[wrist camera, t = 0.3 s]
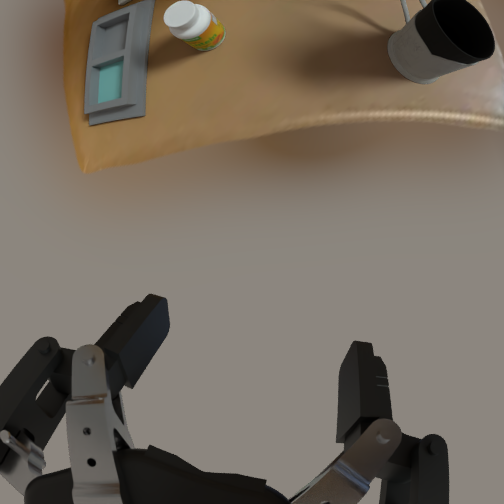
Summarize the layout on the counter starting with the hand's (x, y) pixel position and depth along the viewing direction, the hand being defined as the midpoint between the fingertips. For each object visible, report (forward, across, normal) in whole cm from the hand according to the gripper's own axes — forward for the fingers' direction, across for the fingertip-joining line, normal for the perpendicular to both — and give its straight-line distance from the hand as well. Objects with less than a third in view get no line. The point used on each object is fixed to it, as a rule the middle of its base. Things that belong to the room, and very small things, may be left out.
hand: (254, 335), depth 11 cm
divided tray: (+29, +31, -18) cm, 46 cm away
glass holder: (+30, -12, -25) cm, 41 cm away
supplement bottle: (+29, +15, -21) cm, 39 cm away
